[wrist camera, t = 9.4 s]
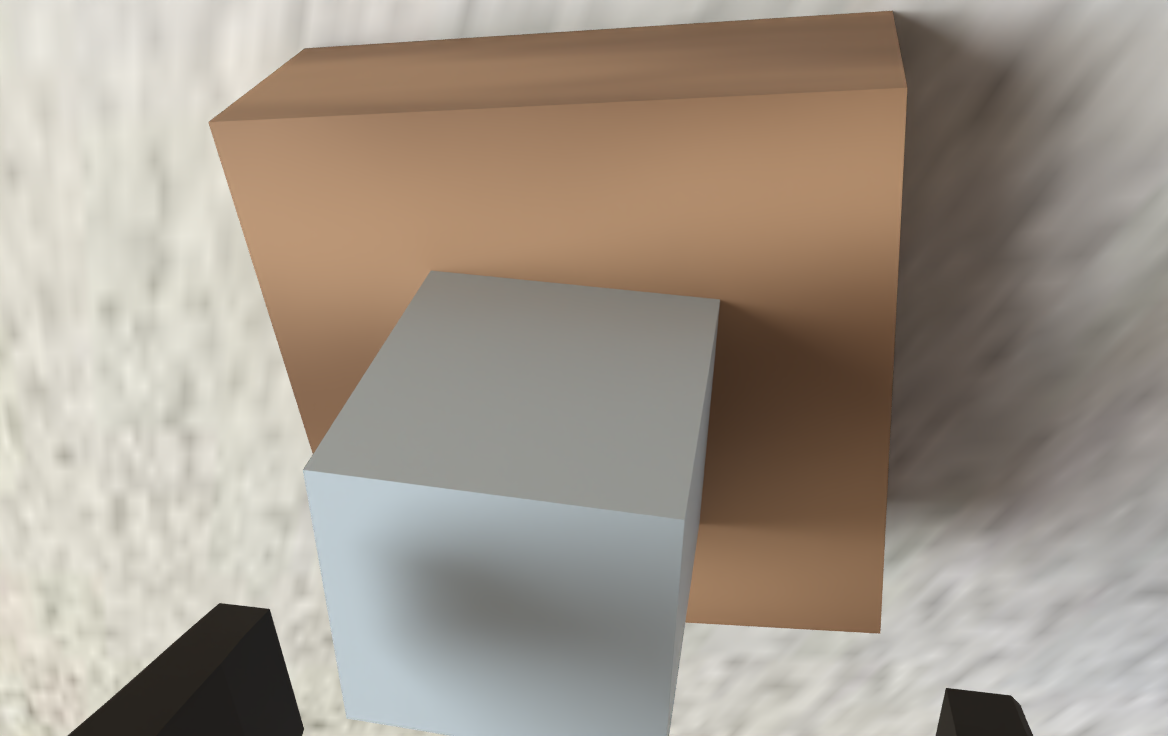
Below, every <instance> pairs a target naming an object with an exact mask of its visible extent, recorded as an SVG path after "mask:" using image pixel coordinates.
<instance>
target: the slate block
mask: <svg viewBox="0 0 1168 736" xmlns="http://www.w3.org/2000/svg"><path fill="white" fill-rule="evenodd" d="M719 306H720V299H710V298H700V297H690V296H680V295H670V294H660V293H650V292H640V291H630V290H620V289H610V288H600V287H590V286H580V285H570V284H560V283H550V282H540V281H530V280H520V279H510V278H500V277H490V276H480V275H470V274H460V273H451V272H441V271H430V273H429V274H428V276H427V277H426V279H425V280H424V282H423V283H422V285H421V287H420V288H419V290H418V291H417V293H416V294H415V296H414V297H413V299H412V301H411V302H410V304H409V305H408V307H407V308H406V310H405V312H404V313H403V315H402V316H401V318H400V319H399V321H398V322H397V324H396V326H395V327H394V329H393V330H392V332H391V333H390V335H389V336H388V338H387V340H386V341H385V343H384V344H383V346H382V347H381V349H380V351H379V352H378V354H377V355H376V357H375V358H374V360H373V361H372V363H371V365H370V366H369V368H368V369H367V371H366V372H365V374H364V375H363V377H362V379H361V380H360V382H359V383H358V385H357V386H356V388H355V390H354V391H353V393H352V394H351V396H350V397H349V399H348V400H347V402H346V404H345V405H344V407H343V408H342V410H341V411H340V413H339V414H338V416H337V418H336V419H335V421H334V422H333V424H332V425H331V427H330V429H329V430H328V432H327V433H326V435H325V436H324V438H323V439H322V441H321V443H320V444H319V446H318V447H317V449H316V450H315V452H314V454H313V455H312V457H311V458H310V460H309V461H308V463H307V464H306V466H305V468H304V469H303V473H304V478H305V484H306V490H307V495H308V501H309V507H310V512H311V518H312V524H313V530H314V535H315V541H316V547H317V552H318V558H319V564H320V569H321V575H322V581H323V587H324V592H325V598H326V604H327V609H328V615H329V621H330V626H331V632H332V638H333V644H334V649H335V655H336V661H337V666H338V672H339V678H340V683H341V689H342V695H343V701H344V706H345V712H346V718H348V719H354V720H360V721H366V722H372V723H378V724H384V725H390V726H396V727H402V728H408V729H414V730H420V731H426V732H432V733H438V734H444V735H450V736H669V732H670V725H671V718H672V711H673V704H674V697H675V690H676V683H677V676H678V669H679V662H680V655H681V648H682V641H683V634H684V627H685V620H686V613H687V607H688V600H689V593H690V586H691V579H692V572H693V565H694V558H695V551H696V544H697V537H698V530H699V522H700V511H701V500H702V489H703V479H704V468H705V457H706V446H707V436H708V425H709V414H710V403H711V393H712V382H713V371H714V360H715V349H716V339H717V328H718V317H719Z"/></svg>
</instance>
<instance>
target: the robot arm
mask: <svg viewBox="0 0 1168 736" xmlns="http://www.w3.org/2000/svg"><path fill="white" fill-rule="evenodd" d="M303 731H304V727H303V724H302V720H301V717H300V713H299V710H298V706H297V703H296V699H295V696H294V692H293V689H292V685H291V682H290V678H289V675H288V671H287V668H286V664H285V661H284V657H283V654H282V650H281V647H280V643H279V640H278V636H277V633H276V629H275V626H274V622H273V619H272V615H271V612H270V609H265V608H257V607H248V606H239V605H231V604H222V603H219V604H218V605H217V606H216V607H214V608H213V609H212V610H211V611H210V612H209V613H207V614H206V615H205V616H204V617H203V618H202V619H200V620H199V621H198V622H197V623H196V624H195V625H193V626H192V627H191V628H190V629H189V630H188V631H187V632H185V633H184V634H183V635H182V636H181V637H180V638H179V639H178V640H176V641H175V642H174V643H173V644H172V645H171V646H170V647H168V648H167V649H166V650H165V651H164V652H163V653H162V654H161V655H159V656H158V657H157V658H156V659H155V660H154V661H153V662H152V663H150V664H149V665H148V666H147V667H146V668H145V669H144V670H143V671H141V672H140V673H139V674H138V675H137V676H136V677H135V678H133V679H132V680H131V681H130V682H129V683H128V684H127V685H126V686H124V687H123V688H122V689H121V690H120V691H119V692H118V693H116V694H115V695H114V696H113V697H112V698H111V699H110V700H109V701H107V702H106V703H105V704H104V705H103V706H102V707H100V708H99V709H98V710H97V711H96V712H95V713H93V714H92V715H91V716H90V717H89V718H88V719H86V720H85V721H84V722H83V723H82V724H81V725H79V726H78V727H77V728H76V729H75V730H74V731H72V732H71V733H70V734H69V735H68V736H302V734H303ZM936 736H1033V734H1032V732H1031V729H1030V727H1029V725H1028V722H1027V720H1026V718H1025V715H1024V713H1023V710H1022V708H1021V705H1020V704H1019V703H1018V702H1017V701H1016V700H1015V699H1014V698H1013V697H1012V696H1011V695H1002V694H993V693H985V692H976V691H968V690H959V689H951V688H946V690H945V695H944V700H943V704H942V709H941V713H940V718H939V723H938V727H937V732H936Z"/></svg>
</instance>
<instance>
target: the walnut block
mask: <svg viewBox="0 0 1168 736" xmlns="http://www.w3.org/2000/svg"><path fill="white" fill-rule="evenodd" d="M906 105H907V83H906V78H905V73H904V68H903V62H902V57H901V52H900V47H899V42H898V36H897V31H896V26H895V21H894V16H893V11H881V12H865V13H850V14H834V15H819V16H803V17H788V18H772V19H757V20H741V21H725V22H710V23H694V24H679V25H663V26H648V27H632V28H616V29H601V30H585V31H570V32H554V33H539V34H523V35H508V36H492V37H476V38H461V39H445V40H430V41H414V42H399V43H383V44H368V45H352V46H336V47H321V48H305V49H303V50H302V51H301V52H300V53H298V54H297V55H296V56H294V57H293V58H292V59H290V60H289V61H288V62H286V63H285V64H284V65H282V66H281V67H280V68H279V69H277V70H276V71H275V72H273V73H272V74H271V75H269V76H268V77H267V78H265V79H264V80H263V81H262V82H260V83H259V84H258V85H256V86H255V87H254V88H252V89H251V90H250V91H248V92H247V93H246V94H245V95H243V96H242V97H241V98H239V99H238V100H237V101H235V102H234V103H233V104H231V105H230V106H229V107H228V108H226V109H225V110H224V111H222V112H221V113H220V114H218V115H217V116H216V117H214V118H213V119H212V120H211V121H209V126H210V129H211V132H212V135H213V138H214V142H215V145H216V148H217V151H218V154H219V157H220V161H221V164H222V167H223V170H224V173H225V176H226V180H227V183H228V186H229V189H230V192H231V195H232V199H233V202H234V205H235V208H236V211H237V215H238V218H239V221H240V224H241V227H242V230H243V234H244V237H245V240H246V243H247V246H248V249H249V253H250V256H251V259H252V262H253V265H254V268H255V272H256V275H257V278H258V281H259V284H260V288H261V291H262V294H263V297H264V300H265V303H266V307H267V310H268V313H269V316H270V319H271V322H272V326H273V329H274V332H275V335H276V338H277V341H278V345H279V348H280V351H281V354H282V357H283V361H284V364H285V367H286V370H287V373H288V376H289V380H290V383H291V386H292V389H293V392H294V395H295V399H296V402H297V405H298V408H299V411H300V414H301V418H302V421H303V424H304V427H305V430H306V434H307V437H308V440H309V443H310V446H311V449H312V453H313V454H314V452H315V450H316V449H317V447H318V446H319V444H320V443H321V441H322V439H323V438H324V436H325V435H326V433H327V432H328V430H329V429H330V427H331V425H332V424H333V422H334V421H335V419H336V418H337V416H338V414H339V413H340V411H341V410H342V408H343V407H344V405H345V404H346V402H347V400H348V399H349V397H350V396H351V394H352V393H353V391H354V390H355V388H356V386H357V385H358V383H359V382H360V380H361V379H362V377H363V375H364V374H365V372H366V371H367V369H368V368H369V366H370V365H371V363H372V361H373V360H374V358H375V357H376V355H377V354H378V352H379V351H380V349H381V347H382V346H383V344H384V343H385V341H386V340H387V338H388V336H389V335H390V333H391V332H392V330H393V329H394V327H395V326H396V324H397V322H398V321H399V319H400V318H401V316H402V315H403V313H404V312H405V310H406V308H407V307H408V305H409V304H410V302H411V301H412V299H413V297H414V296H415V294H416V293H417V291H418V290H419V288H420V287H421V285H422V283H423V282H424V280H425V279H426V277H427V276H428V274H429V273H430V271H441V272H451V273H460V274H470V275H480V276H490V277H500V278H510V279H520V280H530V281H540V282H550V283H560V284H570V285H580V286H590V287H600V288H610V289H620V290H630V291H640V292H650V293H660V294H670V295H680V296H690V297H700V298H710V299H720V306H719V317H718V328H717V339H716V349H715V360H714V371H713V382H712V393H711V403H710V414H709V425H708V436H707V446H706V457H705V468H704V479H703V489H702V500H701V511H700V522H699V530H698V537H697V544H696V551H695V558H694V565H693V572H692V579H691V586H690V593H689V600H688V607H687V613H686V620H685V622H687V623H705V624H722V625H740V626H757V627H775V628H793V629H810V630H828V631H845V632H863V633H880V628H881V608H882V588H883V568H884V548H885V527H886V507H887V487H888V467H889V447H890V427H891V407H892V387H893V367H894V346H895V326H896V306H897V286H898V266H899V246H900V226H901V206H902V185H903V165H904V145H905V125H906Z"/></svg>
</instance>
